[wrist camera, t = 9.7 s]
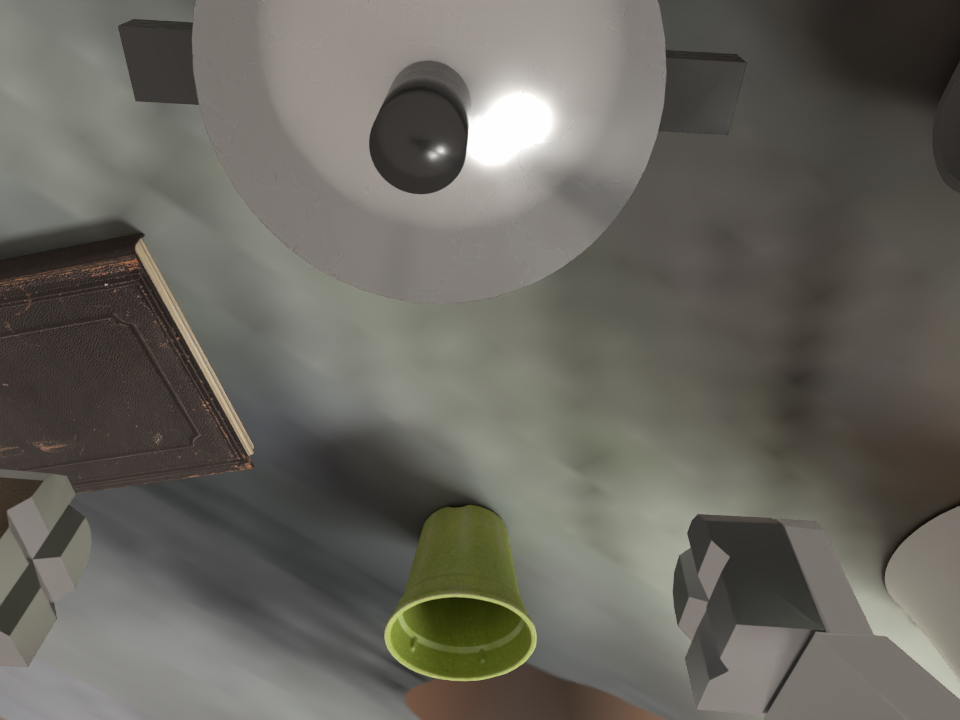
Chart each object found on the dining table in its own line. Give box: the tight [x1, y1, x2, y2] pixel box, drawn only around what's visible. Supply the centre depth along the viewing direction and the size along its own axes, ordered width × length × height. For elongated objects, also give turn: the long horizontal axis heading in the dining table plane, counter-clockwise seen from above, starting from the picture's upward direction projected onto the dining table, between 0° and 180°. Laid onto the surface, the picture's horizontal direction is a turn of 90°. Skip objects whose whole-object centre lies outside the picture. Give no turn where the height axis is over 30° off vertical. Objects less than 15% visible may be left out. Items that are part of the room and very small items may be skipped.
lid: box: [192, 0, 667, 304], centre depth 20 cm, size 15×15×5 cm
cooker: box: [118, 19, 747, 135], centre depth 26 cm, size 21×14×10 cm
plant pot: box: [384, 505, 537, 681], centre depth 46 cm, size 9×9×9 cm
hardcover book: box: [0, 233, 254, 494], centre depth 42 cm, size 16×23×2 cm
